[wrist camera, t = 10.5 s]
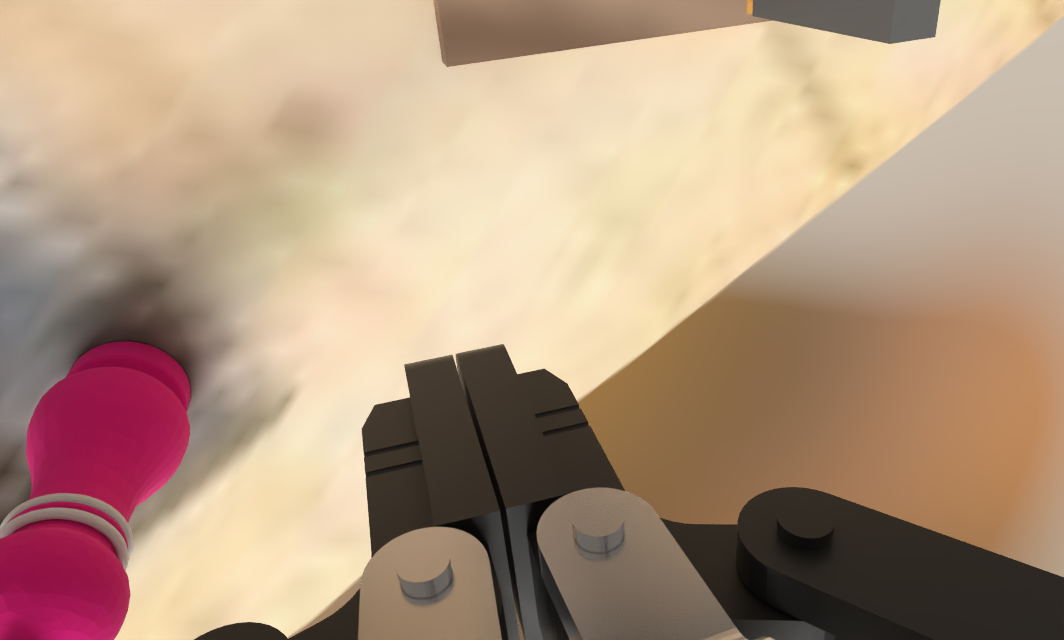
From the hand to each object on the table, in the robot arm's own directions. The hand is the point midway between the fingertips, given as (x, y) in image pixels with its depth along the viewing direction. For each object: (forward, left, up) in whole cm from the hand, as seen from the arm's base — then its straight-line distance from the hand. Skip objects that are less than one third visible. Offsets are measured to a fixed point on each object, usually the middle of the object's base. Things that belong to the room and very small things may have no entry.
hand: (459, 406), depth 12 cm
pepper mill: (+15, -16, -31) cm, 38 cm away
